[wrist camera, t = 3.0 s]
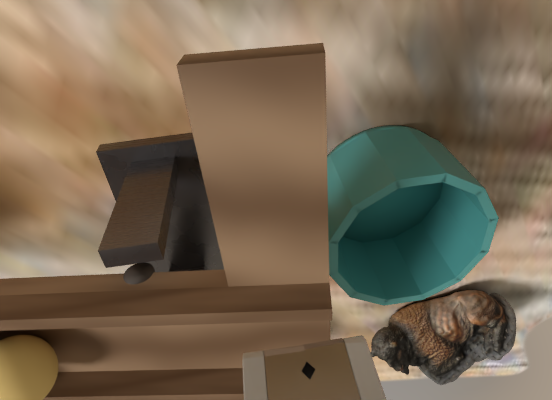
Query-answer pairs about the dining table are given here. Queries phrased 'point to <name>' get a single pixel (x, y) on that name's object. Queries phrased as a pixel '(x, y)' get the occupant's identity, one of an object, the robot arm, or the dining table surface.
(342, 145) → the cup
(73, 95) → the dining table surface
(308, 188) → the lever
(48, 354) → the ball
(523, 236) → the dining table surface
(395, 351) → the bison figurine
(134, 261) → the lever stand
